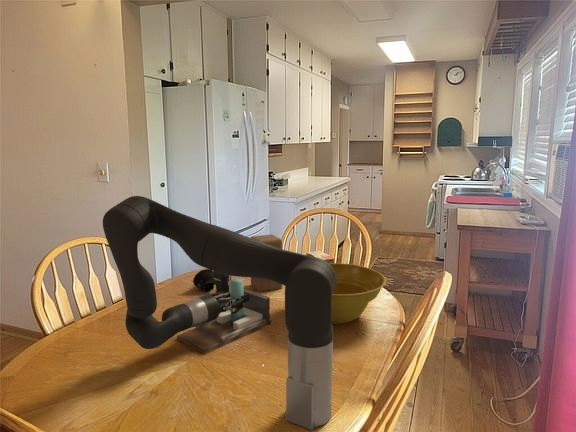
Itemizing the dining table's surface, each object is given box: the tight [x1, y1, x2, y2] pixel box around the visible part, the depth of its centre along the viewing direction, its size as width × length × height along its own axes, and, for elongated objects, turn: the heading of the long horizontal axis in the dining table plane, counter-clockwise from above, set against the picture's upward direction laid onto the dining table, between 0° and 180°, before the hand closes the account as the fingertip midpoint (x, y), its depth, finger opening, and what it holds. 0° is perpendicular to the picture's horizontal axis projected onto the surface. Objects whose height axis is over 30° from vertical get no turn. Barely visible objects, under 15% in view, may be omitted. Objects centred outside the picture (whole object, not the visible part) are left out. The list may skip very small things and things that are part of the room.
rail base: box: [176, 288, 273, 355], centre depth 129 cm, size 26×13×9 cm, turn 138°
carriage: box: [217, 307, 262, 330], centre depth 134 cm, size 10×10×2 cm
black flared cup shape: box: [192, 268, 216, 292], centre depth 169 cm, size 9×11×18 cm
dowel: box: [230, 278, 245, 323], centre depth 132 cm, size 4×4×13 cm
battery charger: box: [212, 271, 232, 302], centre depth 154 cm, size 7×4×11 cm, turn 49°
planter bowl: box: [329, 262, 387, 325], centre depth 141 cm, size 32×32×13 cm
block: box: [250, 234, 283, 293], centre depth 168 cm, size 10×10×20 cm
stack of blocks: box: [301, 250, 336, 263], centre depth 176 cm, size 21×6×12 cm, turn 24°
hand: (243, 295), depth 134 cm, fingers closed on dowel, 3 cm apart
